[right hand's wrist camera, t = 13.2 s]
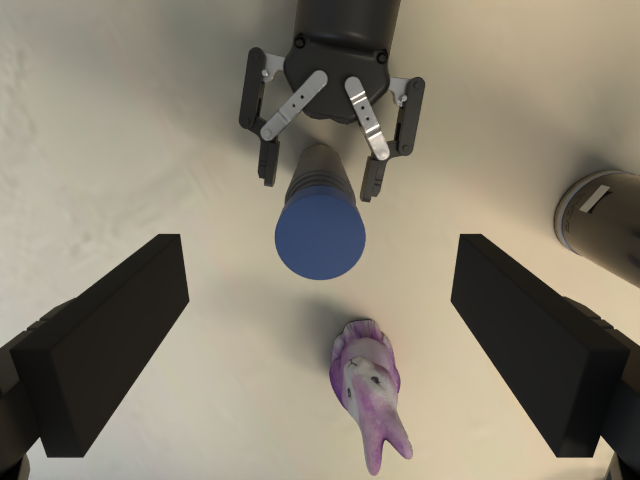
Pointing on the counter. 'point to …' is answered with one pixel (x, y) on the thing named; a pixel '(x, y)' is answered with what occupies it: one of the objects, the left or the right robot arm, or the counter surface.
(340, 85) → the left robot arm
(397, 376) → the figurine
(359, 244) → the cap
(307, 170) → the bottle
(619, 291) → the counter surface
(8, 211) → the counter surface
